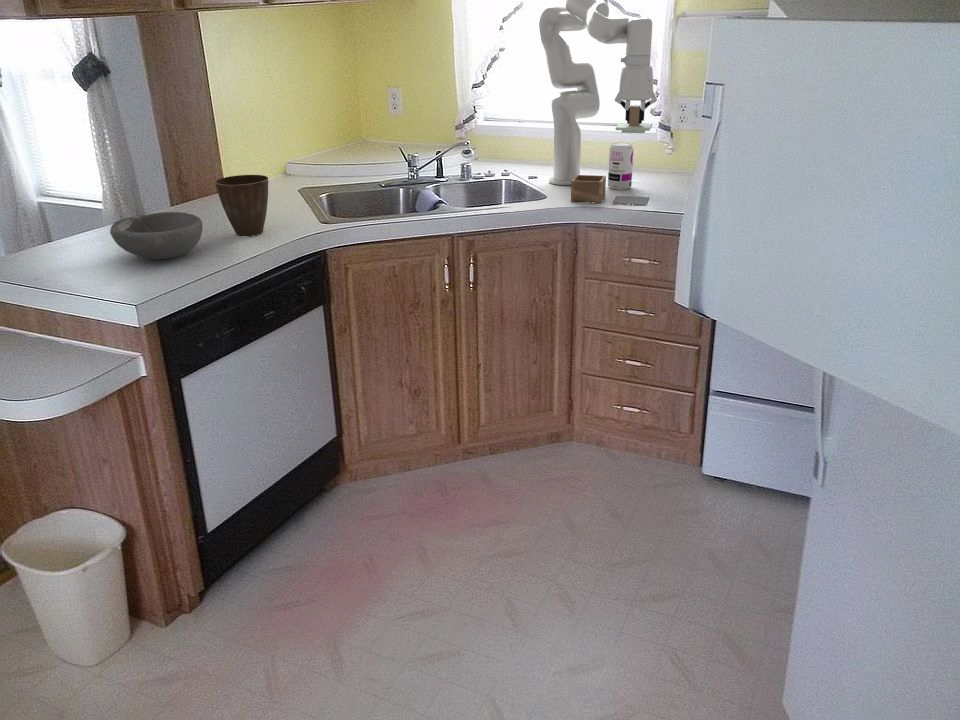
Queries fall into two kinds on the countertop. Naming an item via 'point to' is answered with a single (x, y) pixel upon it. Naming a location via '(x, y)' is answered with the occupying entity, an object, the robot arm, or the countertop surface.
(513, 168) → the countertop surface
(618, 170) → the supplement can
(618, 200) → the coaster
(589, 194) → the tea box
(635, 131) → the lid
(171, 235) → the bowl
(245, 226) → the plant pot
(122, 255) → the countertop surface
